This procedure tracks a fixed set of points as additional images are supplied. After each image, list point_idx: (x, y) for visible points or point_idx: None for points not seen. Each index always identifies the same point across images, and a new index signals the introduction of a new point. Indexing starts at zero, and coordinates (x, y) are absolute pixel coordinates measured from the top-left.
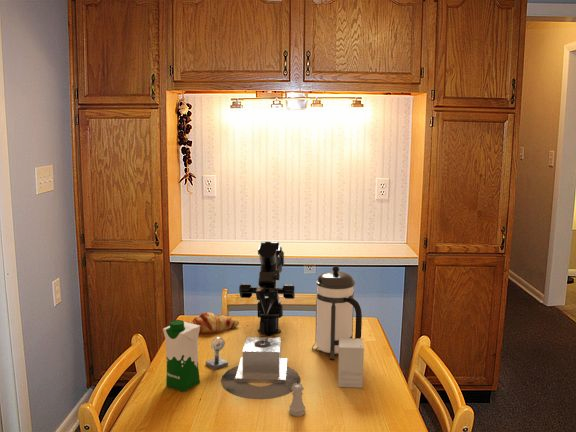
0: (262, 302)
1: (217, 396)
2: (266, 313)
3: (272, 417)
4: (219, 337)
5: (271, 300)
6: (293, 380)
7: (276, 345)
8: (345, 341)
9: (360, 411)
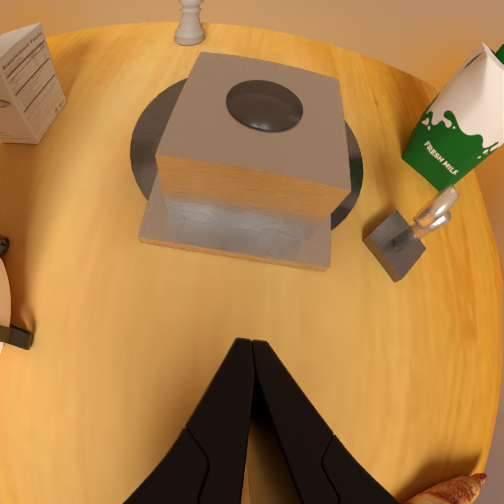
0: (337, 449)
1: (348, 99)
2: (242, 339)
3: (236, 37)
4: (449, 193)
5: (150, 475)
6: (156, 121)
7: (199, 87)
8: (3, 46)
9: (84, 47)
